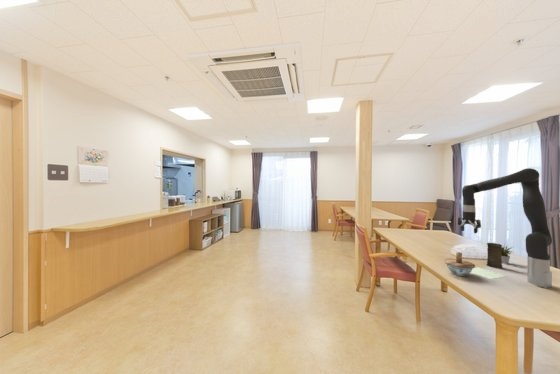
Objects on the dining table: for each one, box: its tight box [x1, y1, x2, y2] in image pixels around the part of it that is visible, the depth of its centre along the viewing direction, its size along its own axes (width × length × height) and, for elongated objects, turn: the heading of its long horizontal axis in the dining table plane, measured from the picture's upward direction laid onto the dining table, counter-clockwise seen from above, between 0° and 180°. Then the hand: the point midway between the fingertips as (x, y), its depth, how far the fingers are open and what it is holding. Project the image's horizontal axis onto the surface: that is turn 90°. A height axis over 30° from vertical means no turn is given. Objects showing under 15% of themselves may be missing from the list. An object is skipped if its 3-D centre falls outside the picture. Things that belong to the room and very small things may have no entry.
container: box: [486, 242, 503, 270], centre depth 167 cm, size 9×9×18 cm
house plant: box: [501, 243, 513, 265], centre depth 177 cm, size 14×14×16 cm
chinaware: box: [445, 263, 473, 277], centre depth 153 cm, size 15×15×8 cm
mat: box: [469, 266, 506, 280], centre depth 155 cm, size 17×17×1 cm
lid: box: [443, 251, 476, 269], centre depth 153 cm, size 17×17×8 cm
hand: (468, 232), depth 165 cm, fingers open, 8 cm apart
